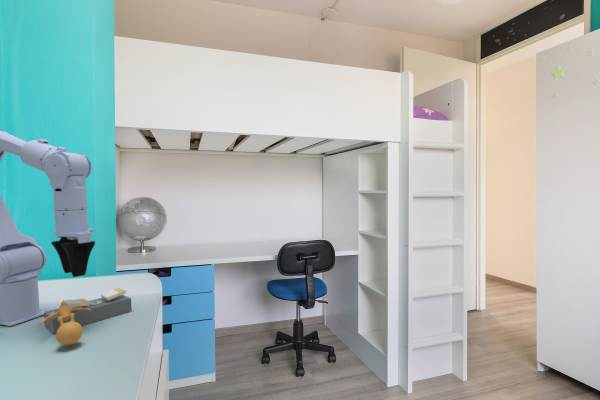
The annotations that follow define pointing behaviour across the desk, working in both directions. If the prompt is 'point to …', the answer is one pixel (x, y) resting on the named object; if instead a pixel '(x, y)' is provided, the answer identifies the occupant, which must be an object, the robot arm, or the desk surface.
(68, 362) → the desk surface
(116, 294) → the far rocker
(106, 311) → the power strip
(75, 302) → the near rocker
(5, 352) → the desk surface
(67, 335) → the figurine
